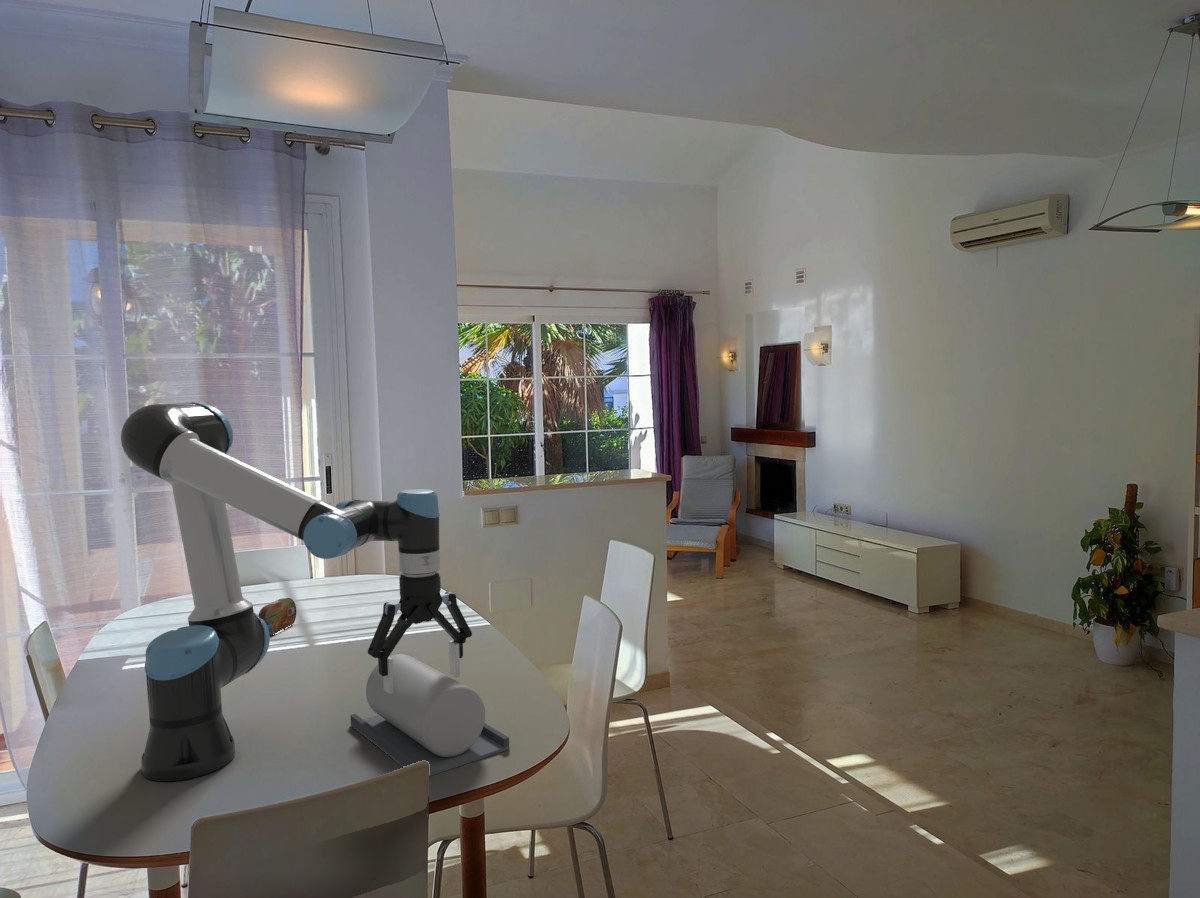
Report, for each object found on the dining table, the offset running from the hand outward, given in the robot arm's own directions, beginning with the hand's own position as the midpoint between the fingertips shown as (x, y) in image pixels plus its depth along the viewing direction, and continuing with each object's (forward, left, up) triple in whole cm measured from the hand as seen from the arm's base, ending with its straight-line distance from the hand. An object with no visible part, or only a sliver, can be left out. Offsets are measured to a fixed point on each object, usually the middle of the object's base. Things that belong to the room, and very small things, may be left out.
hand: (422, 683), depth 157 cm
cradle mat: (0, 0, -10) cm, 10 cm away
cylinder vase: (-7, -12, -4) cm, 14 cm away
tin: (+47, +80, -11) cm, 93 cm away
